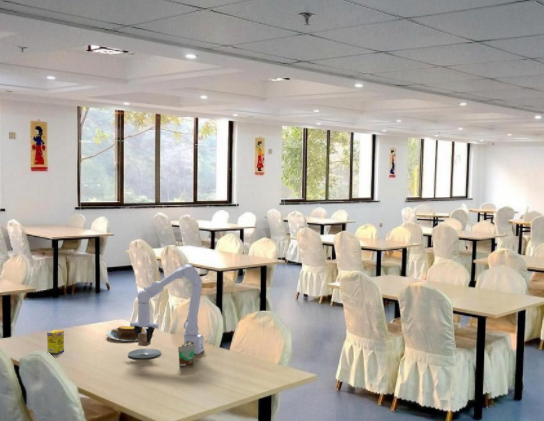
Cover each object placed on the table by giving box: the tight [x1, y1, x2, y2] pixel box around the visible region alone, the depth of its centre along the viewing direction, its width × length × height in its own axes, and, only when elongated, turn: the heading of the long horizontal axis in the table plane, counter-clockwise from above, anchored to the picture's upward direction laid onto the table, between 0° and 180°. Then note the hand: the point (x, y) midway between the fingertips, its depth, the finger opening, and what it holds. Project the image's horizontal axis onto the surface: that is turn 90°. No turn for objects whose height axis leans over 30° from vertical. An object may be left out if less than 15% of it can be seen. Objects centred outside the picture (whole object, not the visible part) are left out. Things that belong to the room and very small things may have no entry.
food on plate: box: [106, 325, 147, 342], centre depth 370 cm, size 25×25×7 cm
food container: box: [177, 341, 196, 368], centre depth 317 cm, size 12×6×10 cm, turn 168°
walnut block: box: [137, 332, 152, 347], centre depth 334 cm, size 4×4×6 cm
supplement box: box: [46, 329, 65, 356], centre depth 338 cm, size 6×6×11 cm
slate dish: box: [127, 348, 162, 359], centre depth 334 cm, size 16×16×1 cm
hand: (144, 341), depth 334 cm, fingers closed on walnut block, 4 cm apart
